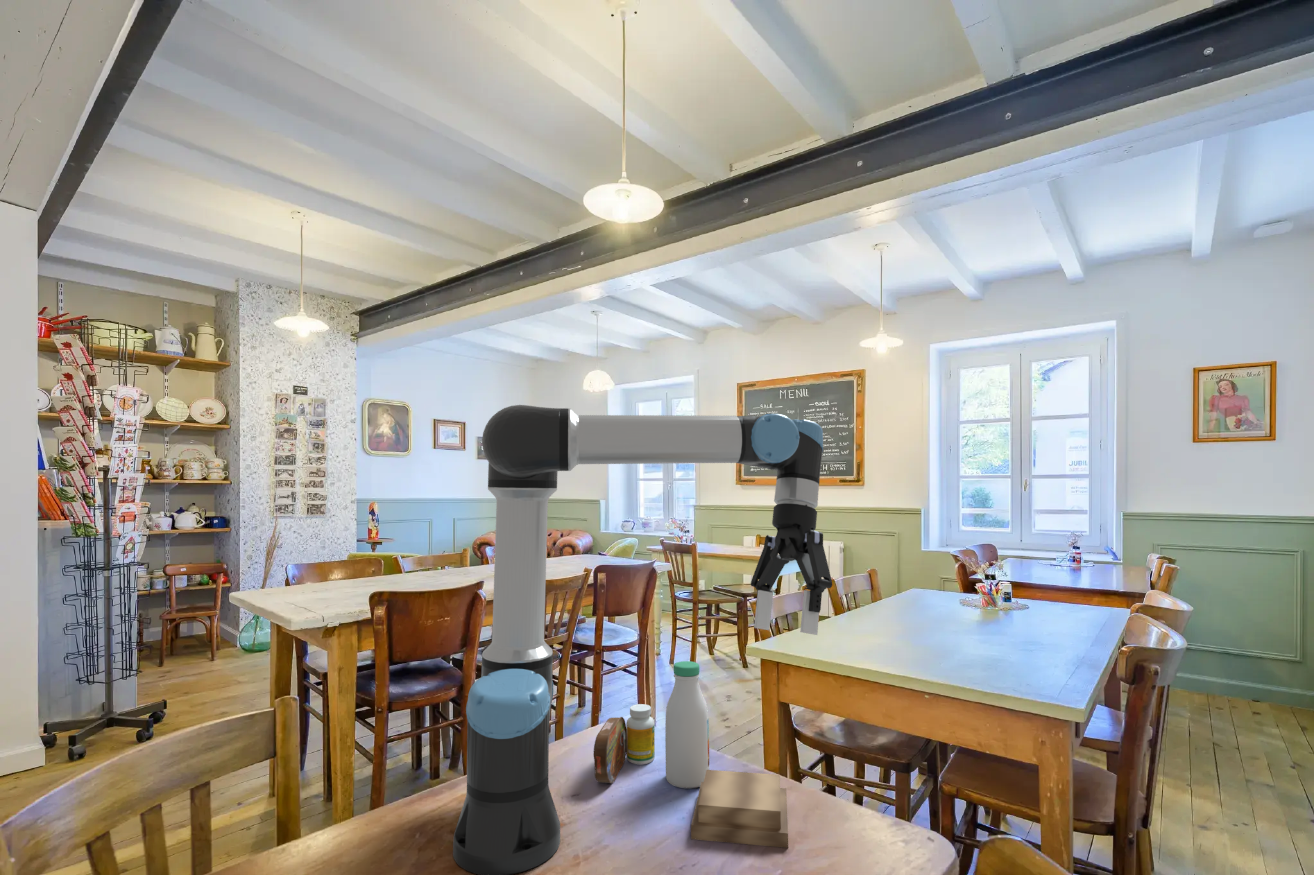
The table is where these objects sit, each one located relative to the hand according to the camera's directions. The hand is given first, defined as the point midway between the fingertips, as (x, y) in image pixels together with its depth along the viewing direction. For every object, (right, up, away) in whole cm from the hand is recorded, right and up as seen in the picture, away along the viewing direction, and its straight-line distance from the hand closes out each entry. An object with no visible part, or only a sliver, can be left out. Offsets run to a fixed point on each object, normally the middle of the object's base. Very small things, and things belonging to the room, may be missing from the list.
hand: (783, 631), depth 109 cm
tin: (-29, -29, +10) cm, 42 cm away
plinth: (-8, -27, -7) cm, 29 cm away
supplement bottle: (-24, -29, +15) cm, 40 cm away
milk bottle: (-16, -28, +6) cm, 33 cm away
